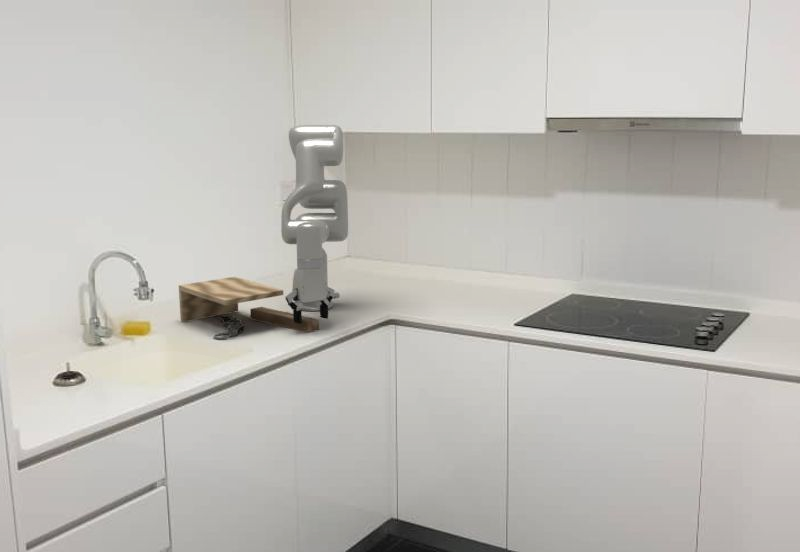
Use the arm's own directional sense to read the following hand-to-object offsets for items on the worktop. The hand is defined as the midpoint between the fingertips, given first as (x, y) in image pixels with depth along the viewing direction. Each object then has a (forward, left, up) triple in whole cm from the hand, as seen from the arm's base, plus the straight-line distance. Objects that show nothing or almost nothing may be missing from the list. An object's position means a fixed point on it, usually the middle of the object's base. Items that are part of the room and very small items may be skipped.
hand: (311, 320), depth 249 cm
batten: (0, -11, -1) cm, 11 cm away
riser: (+14, -22, -3) cm, 26 cm away
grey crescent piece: (+17, -19, -4) cm, 26 cm away
